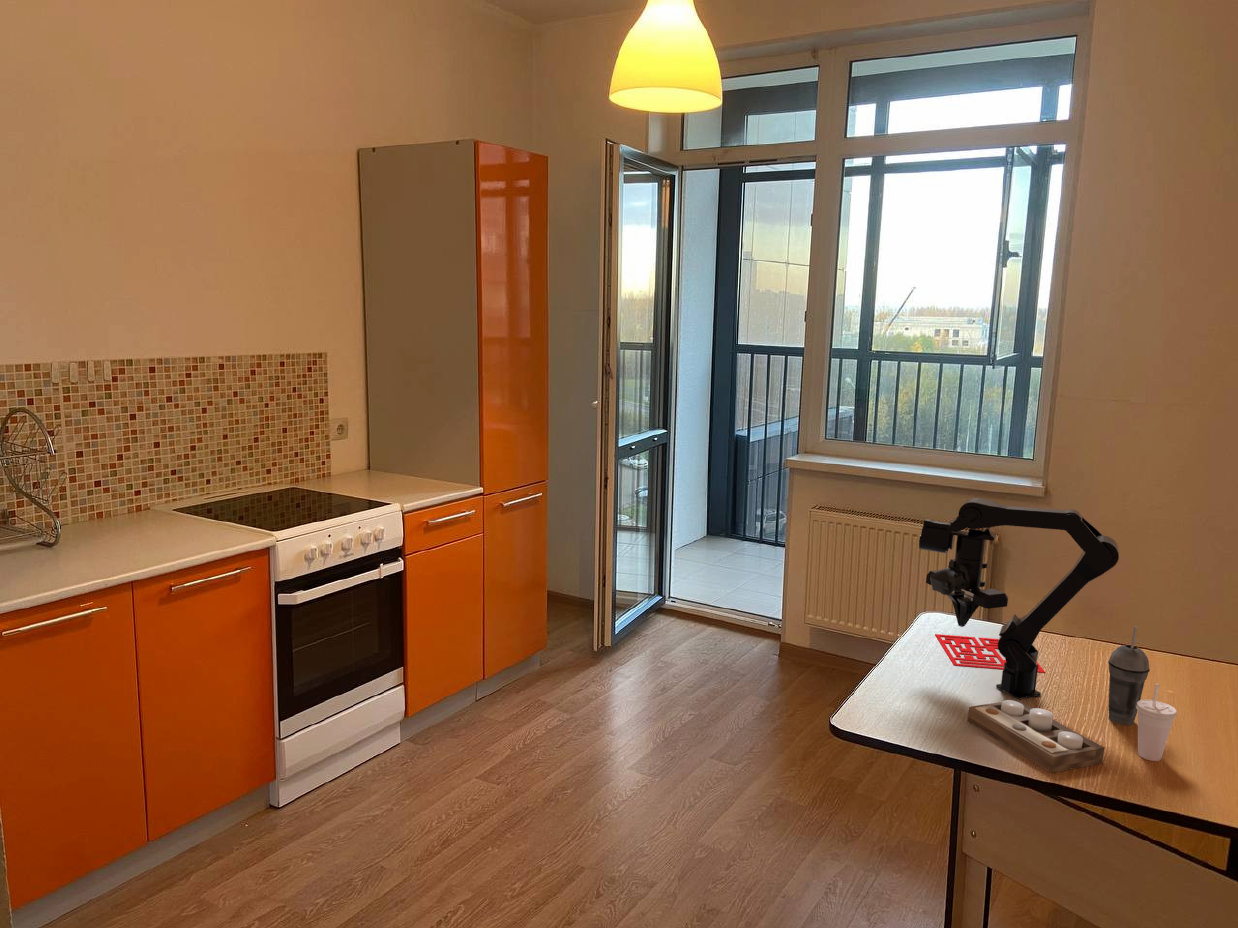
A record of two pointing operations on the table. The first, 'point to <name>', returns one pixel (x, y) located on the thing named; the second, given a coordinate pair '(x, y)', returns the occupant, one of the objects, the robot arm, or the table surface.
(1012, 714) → the button
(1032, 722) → the button middle
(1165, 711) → the smoothie
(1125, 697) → the beverage cup
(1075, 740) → the button
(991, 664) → the maze puzzle
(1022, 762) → the table surface
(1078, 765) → the button board
